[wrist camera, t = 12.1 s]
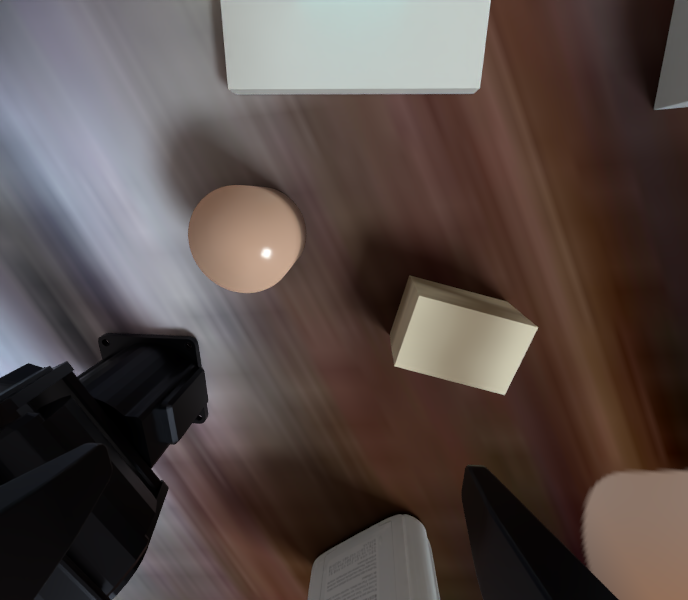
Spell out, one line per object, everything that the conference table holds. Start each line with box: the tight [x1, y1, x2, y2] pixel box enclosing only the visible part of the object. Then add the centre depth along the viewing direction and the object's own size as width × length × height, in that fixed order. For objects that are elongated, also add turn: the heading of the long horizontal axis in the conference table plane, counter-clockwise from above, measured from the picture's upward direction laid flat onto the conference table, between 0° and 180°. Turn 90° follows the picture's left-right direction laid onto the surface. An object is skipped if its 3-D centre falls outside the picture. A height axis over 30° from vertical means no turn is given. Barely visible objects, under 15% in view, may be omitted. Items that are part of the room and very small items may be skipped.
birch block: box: [390, 275, 538, 395], centre depth 19 cm, size 6×4×4 cm, turn 76°
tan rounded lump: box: [188, 185, 306, 293], centre depth 18 cm, size 5×5×4 cm
